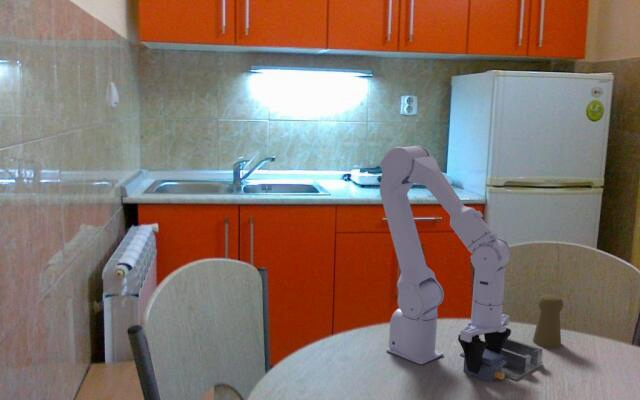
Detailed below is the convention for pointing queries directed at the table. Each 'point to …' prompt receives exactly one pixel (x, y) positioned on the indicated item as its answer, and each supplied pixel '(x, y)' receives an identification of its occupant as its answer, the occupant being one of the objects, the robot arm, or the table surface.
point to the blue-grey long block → (488, 366)
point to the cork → (548, 322)
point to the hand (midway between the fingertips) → (482, 366)
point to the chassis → (520, 358)
